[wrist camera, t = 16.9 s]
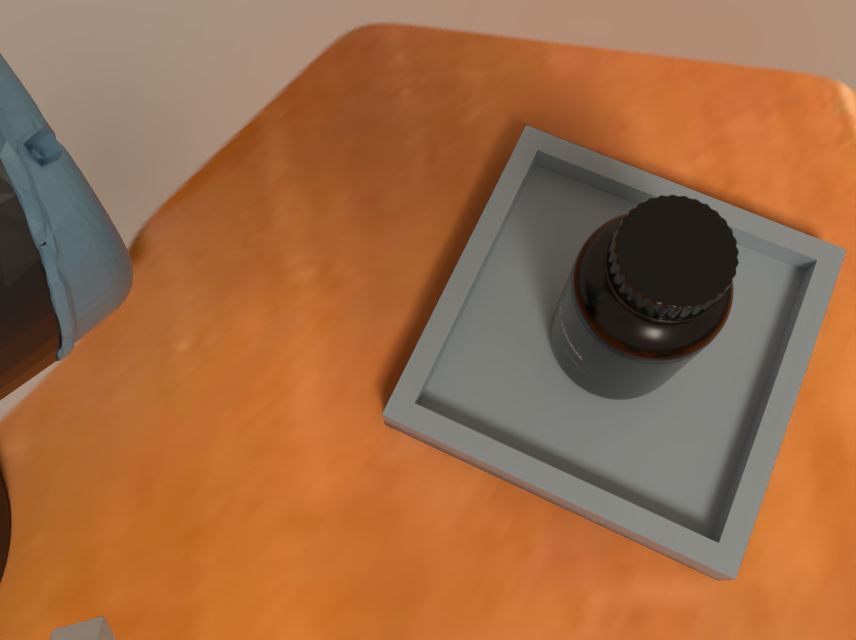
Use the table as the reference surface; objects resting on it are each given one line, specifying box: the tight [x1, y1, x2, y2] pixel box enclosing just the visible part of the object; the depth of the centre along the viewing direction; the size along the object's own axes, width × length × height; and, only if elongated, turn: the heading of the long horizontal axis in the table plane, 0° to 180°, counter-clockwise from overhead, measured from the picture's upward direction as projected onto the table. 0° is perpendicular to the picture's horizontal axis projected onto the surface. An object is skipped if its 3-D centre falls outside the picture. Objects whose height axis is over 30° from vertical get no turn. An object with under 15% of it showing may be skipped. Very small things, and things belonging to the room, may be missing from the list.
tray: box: [382, 125, 846, 580], centre depth 42 cm, size 18×18×2 cm
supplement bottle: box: [551, 195, 739, 400], centre depth 36 cm, size 7×7×12 cm
